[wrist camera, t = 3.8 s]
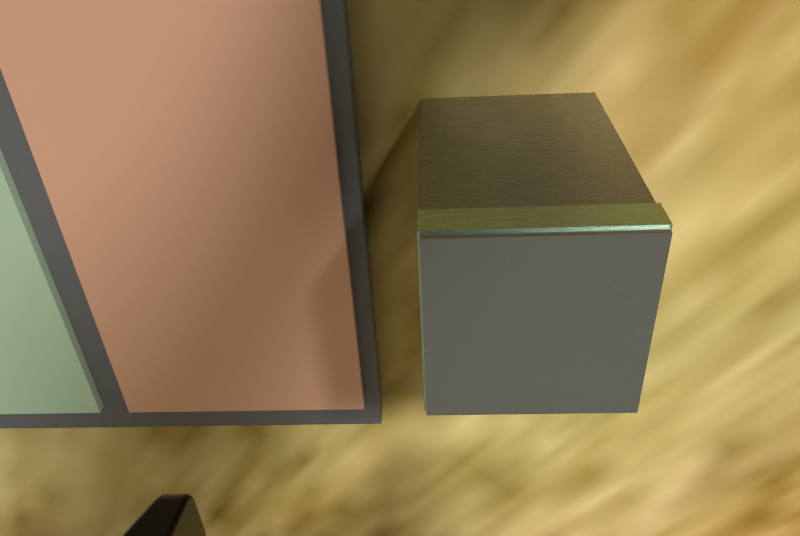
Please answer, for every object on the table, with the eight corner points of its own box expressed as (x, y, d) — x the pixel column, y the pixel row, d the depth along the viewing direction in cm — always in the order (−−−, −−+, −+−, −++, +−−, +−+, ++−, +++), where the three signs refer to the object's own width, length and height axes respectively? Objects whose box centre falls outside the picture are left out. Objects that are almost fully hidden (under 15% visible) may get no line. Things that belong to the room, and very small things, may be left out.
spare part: (596, 90, 18) (676, 230, 12) (580, 240, 21) (639, 414, 15) (419, 96, 19) (416, 237, 13) (425, 244, 21) (424, 416, 15)
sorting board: (337, -100, 16) (331, -93, 15) (382, 406, 25) (380, 430, 24) (-409, -61, 17) (-457, -52, 16) (-107, 413, 26) (-126, 436, 25)
